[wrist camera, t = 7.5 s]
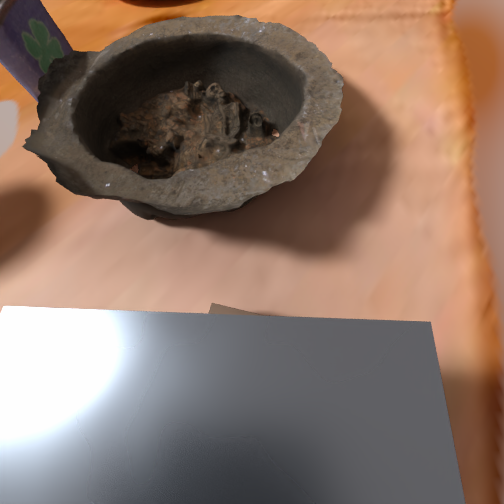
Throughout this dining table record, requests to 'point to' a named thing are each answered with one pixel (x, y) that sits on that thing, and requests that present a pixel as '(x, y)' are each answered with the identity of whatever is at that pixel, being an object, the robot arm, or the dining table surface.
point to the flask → (29, 41)
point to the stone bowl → (186, 115)
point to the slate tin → (221, 410)
